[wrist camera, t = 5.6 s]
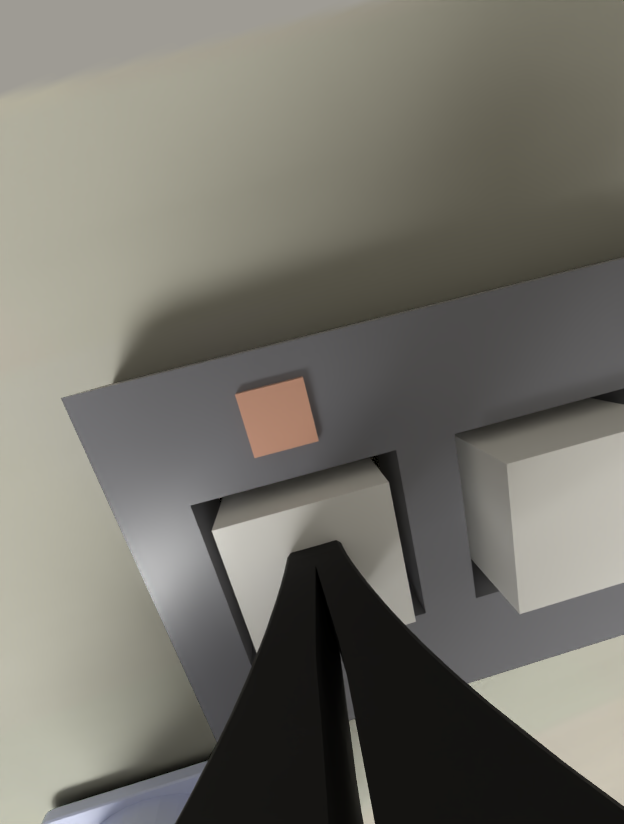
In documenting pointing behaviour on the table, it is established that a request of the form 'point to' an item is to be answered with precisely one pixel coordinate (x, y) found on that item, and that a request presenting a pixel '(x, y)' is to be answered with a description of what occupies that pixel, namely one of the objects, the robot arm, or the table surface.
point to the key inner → (311, 536)
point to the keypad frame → (350, 441)
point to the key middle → (547, 501)
